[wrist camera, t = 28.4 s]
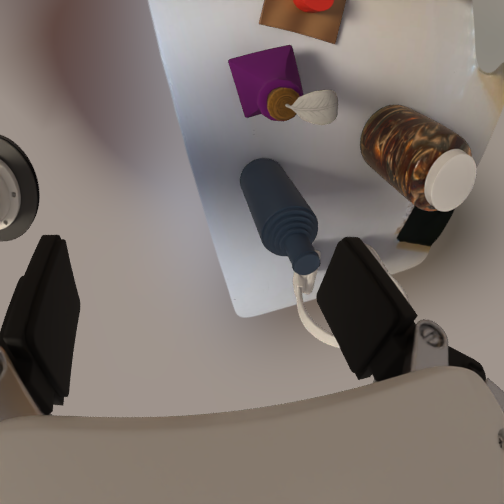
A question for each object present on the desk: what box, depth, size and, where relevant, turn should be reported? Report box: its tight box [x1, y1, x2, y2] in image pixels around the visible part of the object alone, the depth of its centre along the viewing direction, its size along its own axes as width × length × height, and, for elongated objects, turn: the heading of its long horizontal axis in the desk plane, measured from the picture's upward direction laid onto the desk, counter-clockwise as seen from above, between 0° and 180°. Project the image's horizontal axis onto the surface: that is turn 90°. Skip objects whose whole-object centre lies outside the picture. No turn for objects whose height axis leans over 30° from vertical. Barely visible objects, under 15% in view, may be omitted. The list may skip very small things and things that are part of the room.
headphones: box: [293, 243, 410, 348], centre depth 47 cm, size 7×18×20 cm, turn 88°
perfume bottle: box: [228, 45, 338, 125], centre depth 27 cm, size 8×8×18 cm
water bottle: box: [240, 158, 320, 275], centre depth 36 cm, size 6×6×18 cm
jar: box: [360, 105, 477, 212], centre depth 37 cm, size 12×12×15 cm
